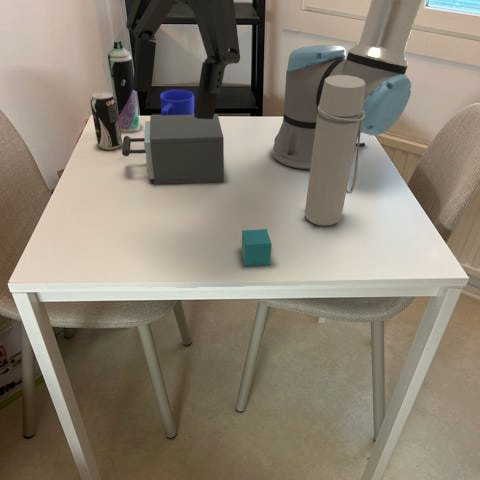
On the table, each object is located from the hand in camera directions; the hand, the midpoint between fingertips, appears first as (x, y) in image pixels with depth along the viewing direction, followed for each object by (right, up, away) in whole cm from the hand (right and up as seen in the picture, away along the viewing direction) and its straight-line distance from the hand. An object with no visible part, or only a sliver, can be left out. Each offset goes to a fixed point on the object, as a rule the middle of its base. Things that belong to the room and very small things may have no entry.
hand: (171, 104), depth 67 cm
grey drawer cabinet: (-2, +4, +41) cm, 41 cm away
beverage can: (-22, +12, +49) cm, 55 cm away
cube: (+12, -19, +17) cm, 28 cm away
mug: (-6, +15, +53) cm, 55 cm away
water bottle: (+27, -10, +27) cm, 39 cm away
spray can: (-19, +20, +57) cm, 64 cm away
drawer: (-6, +4, +40) cm, 40 cm away
